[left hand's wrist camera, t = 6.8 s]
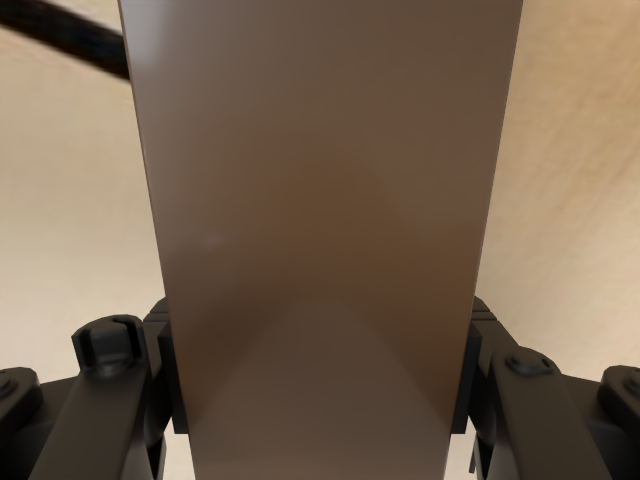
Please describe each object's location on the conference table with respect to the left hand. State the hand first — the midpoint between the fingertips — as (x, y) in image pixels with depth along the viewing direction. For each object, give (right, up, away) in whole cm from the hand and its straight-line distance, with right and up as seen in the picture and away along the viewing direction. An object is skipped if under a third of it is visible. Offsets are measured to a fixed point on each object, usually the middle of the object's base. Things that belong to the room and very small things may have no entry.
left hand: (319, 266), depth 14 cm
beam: (0, +21, -7) cm, 23 cm away
